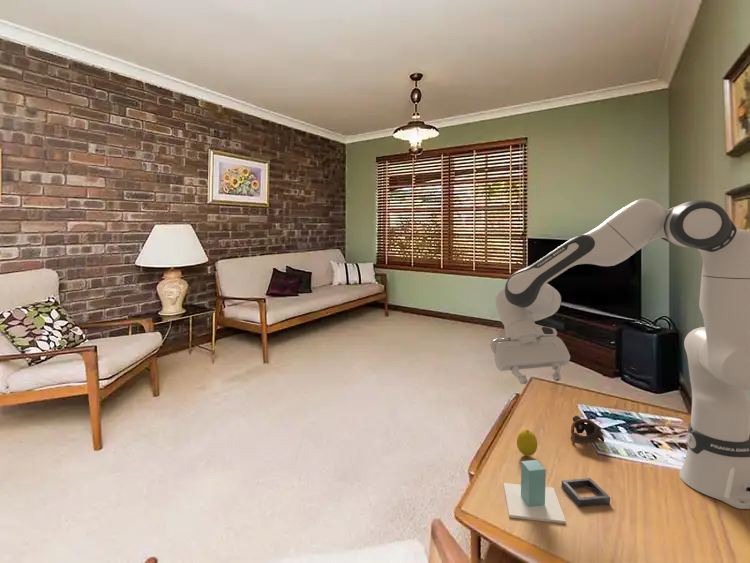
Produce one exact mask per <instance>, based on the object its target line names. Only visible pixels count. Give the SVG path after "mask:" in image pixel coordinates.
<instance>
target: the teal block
mask: <svg viewBox="0 0 750 563" xmlns="http://www.w3.org/2000/svg"><path fill="white" fill-rule="evenodd" d="M520 471H521V472H520V484H521V497H522V498H523V500H524V501H525V502H526V504H527V505H528V507H532V506H543V505H545V487H546V482H547V481H546V476H547V475H546V474H547V469H546V468H545V467H544V466H543V464H542V463H541V462H540V461H539V460H538V459H533V460H532V459H531V460H522V461H521V464H520Z"/></svg>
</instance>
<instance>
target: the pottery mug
mask: <svg viewBox="0 0 750 563" xmlns="http://www.w3.org/2000/svg"><path fill="white" fill-rule="evenodd" d="M572 422H573V423H571V427H570V440H571V443H572V444H574V445H575V444H578V445H584V446H585V445H586V446H587V445H591V444H595V443H599V444H600V441H601V443H602V442H604V443H605V437H604V433H603V431H602V428H601V427H600V426H599V425H598V424H596V422H595V421H593V420H591V419H589V418H581V417H580V416H579V415H575V416H572ZM575 430H576V431H575ZM584 431H585V434H586V435H581V434H583V433H584Z"/></svg>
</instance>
